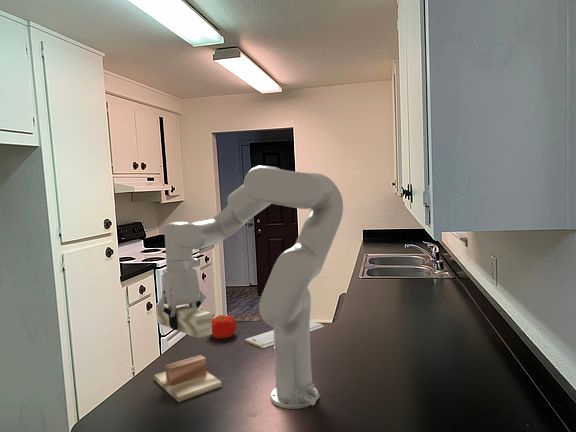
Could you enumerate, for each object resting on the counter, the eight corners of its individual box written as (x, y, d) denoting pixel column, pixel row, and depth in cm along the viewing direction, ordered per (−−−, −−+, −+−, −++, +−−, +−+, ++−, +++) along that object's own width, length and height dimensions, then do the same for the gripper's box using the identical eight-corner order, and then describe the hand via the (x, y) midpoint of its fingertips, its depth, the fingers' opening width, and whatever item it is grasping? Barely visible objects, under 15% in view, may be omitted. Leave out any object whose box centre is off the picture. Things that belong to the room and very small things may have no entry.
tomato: (216, 330, 170) (215, 312, 169) (241, 332, 166) (240, 314, 166) (202, 340, 160) (201, 320, 159) (228, 342, 156) (227, 322, 156)
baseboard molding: (327, 329, 168) (306, 323, 177) (326, 322, 167) (305, 316, 176) (265, 351, 147) (245, 343, 156) (265, 343, 147) (244, 335, 156)
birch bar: (212, 333, 118) (211, 312, 117) (198, 338, 114) (197, 316, 114) (169, 319, 133) (168, 300, 132) (156, 322, 129) (155, 303, 129)
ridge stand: (221, 386, 121) (220, 364, 121) (178, 402, 113) (177, 378, 113) (194, 367, 135) (193, 347, 135) (154, 379, 128) (153, 358, 127)
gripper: (201, 259, 130) (204, 317, 131) (146, 267, 120) (149, 330, 121) (212, 262, 124) (215, 323, 126) (155, 271, 114) (159, 337, 115)
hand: (183, 326), depth 123 cm, fingers closed on birch bar, 5 cm apart
